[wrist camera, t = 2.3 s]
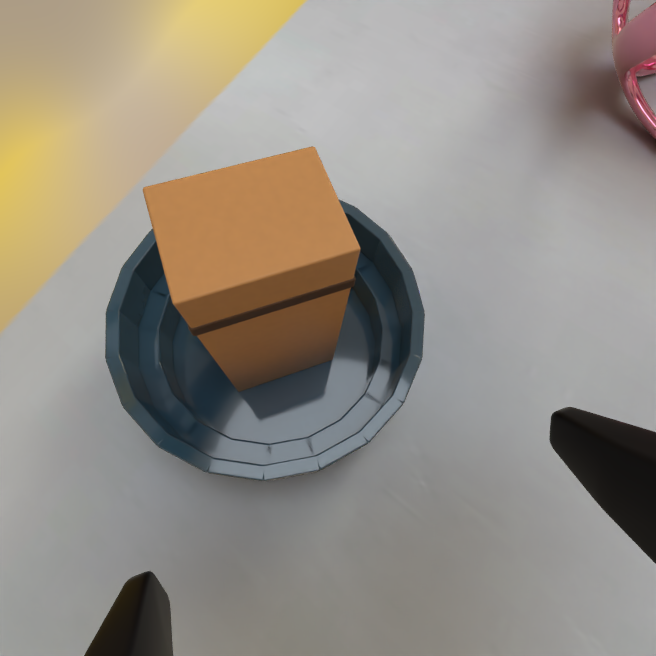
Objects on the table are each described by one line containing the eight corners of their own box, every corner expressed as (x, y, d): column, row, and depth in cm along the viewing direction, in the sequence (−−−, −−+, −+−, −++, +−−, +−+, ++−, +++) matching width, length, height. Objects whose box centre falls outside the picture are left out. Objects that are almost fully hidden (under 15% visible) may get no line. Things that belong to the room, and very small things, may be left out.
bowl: (334, 529, 20) (344, 547, 15) (97, 403, 22) (32, 380, 16) (432, 300, 25) (465, 254, 20) (232, 210, 26) (215, 145, 21)
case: (334, 360, 22) (364, 249, 11) (237, 393, 21) (170, 307, 10) (309, 296, 23) (315, 143, 13) (217, 325, 23) (138, 185, 12)
